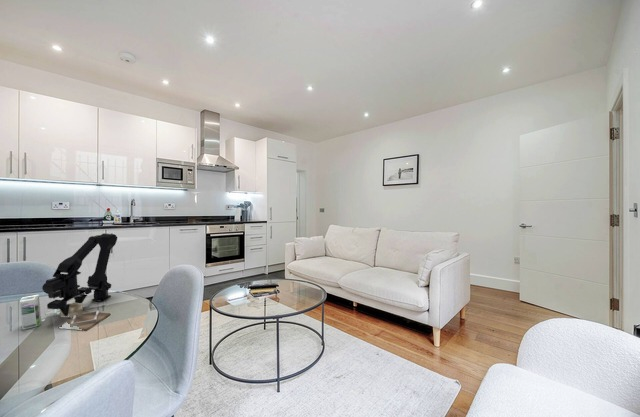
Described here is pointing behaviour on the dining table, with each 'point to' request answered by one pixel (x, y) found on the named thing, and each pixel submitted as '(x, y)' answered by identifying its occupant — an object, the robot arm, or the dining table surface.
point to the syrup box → (30, 311)
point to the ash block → (74, 309)
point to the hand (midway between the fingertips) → (71, 312)
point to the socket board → (87, 319)
